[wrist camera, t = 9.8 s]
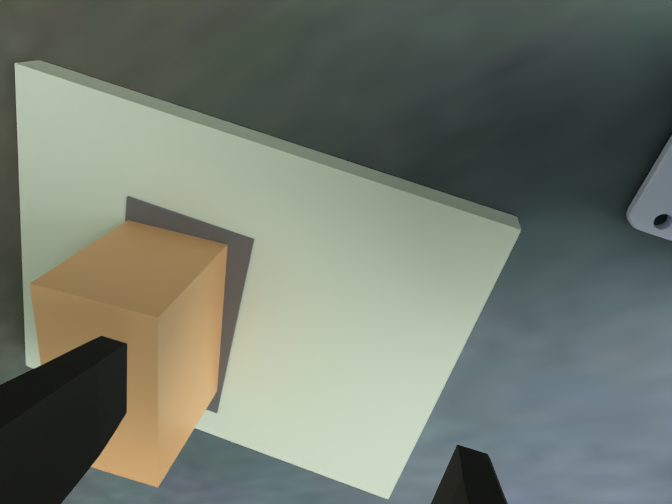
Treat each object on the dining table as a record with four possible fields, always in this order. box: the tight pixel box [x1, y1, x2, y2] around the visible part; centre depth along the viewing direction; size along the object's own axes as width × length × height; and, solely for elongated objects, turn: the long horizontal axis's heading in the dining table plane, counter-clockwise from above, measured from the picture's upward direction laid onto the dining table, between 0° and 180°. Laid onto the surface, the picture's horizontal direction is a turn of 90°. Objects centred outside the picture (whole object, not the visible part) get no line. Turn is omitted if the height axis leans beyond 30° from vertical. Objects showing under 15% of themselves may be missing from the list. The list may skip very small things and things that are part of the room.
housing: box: [30, 220, 228, 487], centre depth 18 cm, size 4×7×5 cm, turn 171°
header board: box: [15, 60, 521, 499], centre depth 19 cm, size 18×14×4 cm
